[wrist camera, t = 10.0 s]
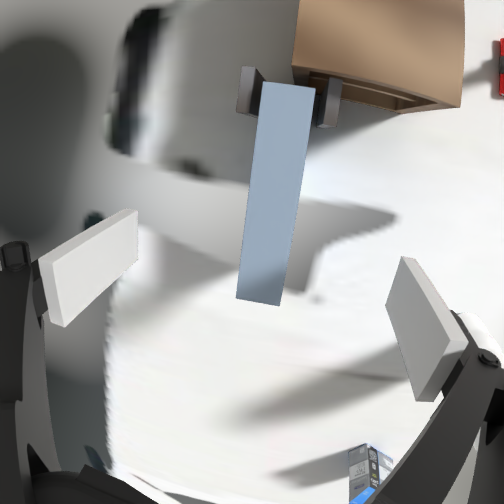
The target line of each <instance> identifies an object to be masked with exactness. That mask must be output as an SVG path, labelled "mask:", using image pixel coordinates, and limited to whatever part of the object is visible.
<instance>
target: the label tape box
mask: <svg viewBox="0 0 504 504" xmlns="http://www.w3.org/2000/svg"><path fill="white" fill-rule="evenodd" d="M393 469H394V468H393V460H392V459H391V458H389V457H387V456H386V455H384V454H382V453H381V452H379V451H378V450H376V449H374V448H373V447H371V446H370V445H368V444H365V445H362V446H360V447H358V448H356V449H354V450H352V451H350V452H349V504H363V503H364V502H365V501H366V500H367V499H368V498H369V497H370V496H371V495H372V493H373V492H374V491H375V490H376V489H377V488H378V487H379V486H380V484H381V483H382V482H383V481H384V480H385V479H386V477H387V476H388V475H389V474H390V473H391V471H392V470H393Z"/></svg>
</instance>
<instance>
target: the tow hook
mask: <svg viewBox="0 0 504 504" xmlns="http://www.w3.org/2000/svg"><path fill="white" fill-rule="evenodd" d="M500 42H501V57H500V71H499V74H500V90H499V94H500V95H501V96H504V38H501V39H500Z"/></svg>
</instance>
